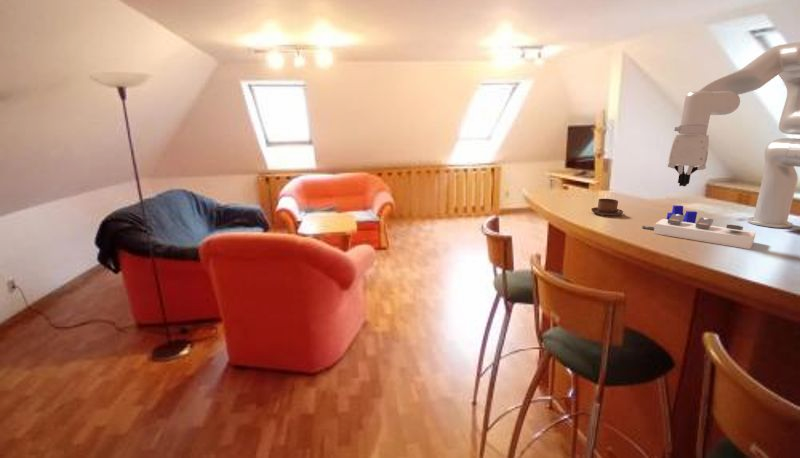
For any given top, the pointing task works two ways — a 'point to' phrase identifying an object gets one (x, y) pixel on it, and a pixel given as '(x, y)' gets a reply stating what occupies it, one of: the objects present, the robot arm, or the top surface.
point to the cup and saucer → (607, 207)
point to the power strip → (705, 233)
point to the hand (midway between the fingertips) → (682, 185)
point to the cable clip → (689, 215)
